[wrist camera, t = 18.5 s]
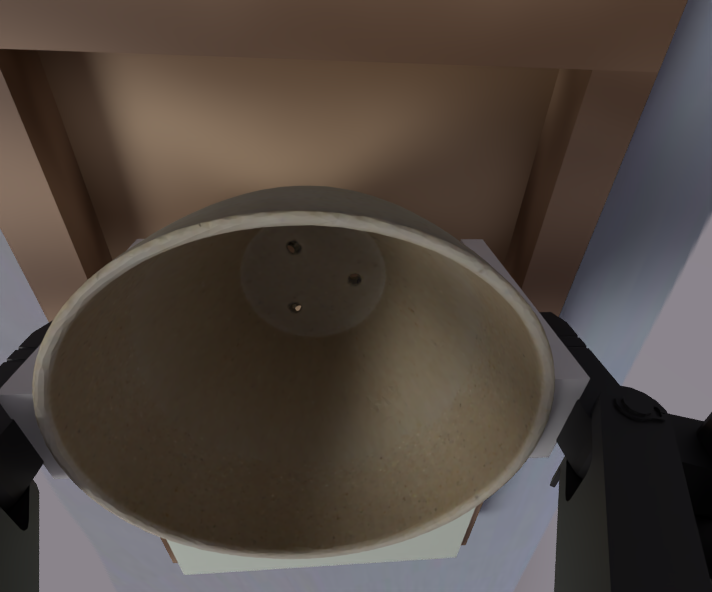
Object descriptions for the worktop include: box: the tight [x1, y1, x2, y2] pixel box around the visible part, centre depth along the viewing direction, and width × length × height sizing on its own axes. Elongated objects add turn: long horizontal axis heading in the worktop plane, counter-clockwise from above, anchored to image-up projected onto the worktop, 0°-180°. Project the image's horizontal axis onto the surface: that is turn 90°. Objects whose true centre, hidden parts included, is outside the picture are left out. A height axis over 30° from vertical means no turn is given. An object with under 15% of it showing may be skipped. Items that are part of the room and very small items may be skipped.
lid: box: [166, 507, 476, 575], centre depth 21 cm, size 14×18×3 cm
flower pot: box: [32, 186, 555, 559], centre depth 11 cm, size 10×10×7 cm
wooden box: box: [0, 0, 688, 563], centre depth 19 cm, size 31×20×2 cm, turn 178°
